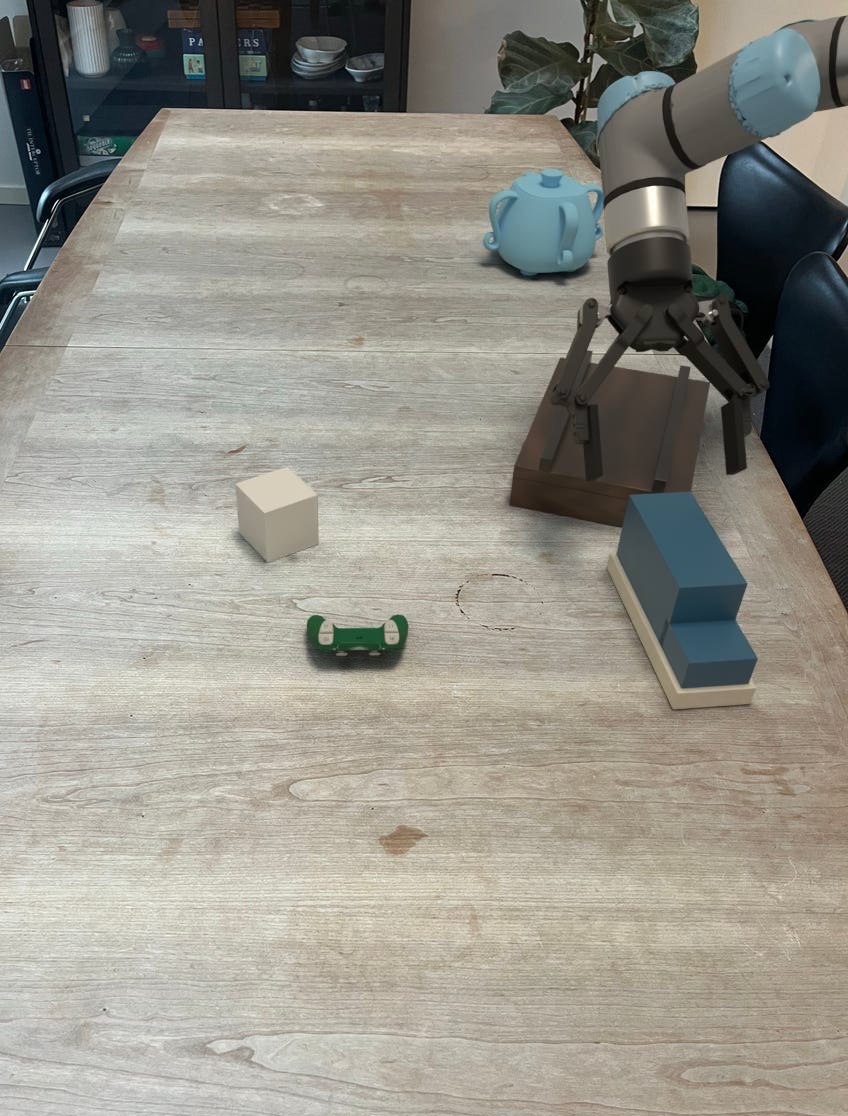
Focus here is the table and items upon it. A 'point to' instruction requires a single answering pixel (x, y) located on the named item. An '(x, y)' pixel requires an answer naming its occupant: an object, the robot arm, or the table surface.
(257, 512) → the beige cube
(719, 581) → the trainer
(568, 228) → the decorative pot
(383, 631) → the gaming controller
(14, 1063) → the table surface
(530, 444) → the shoe shelf
